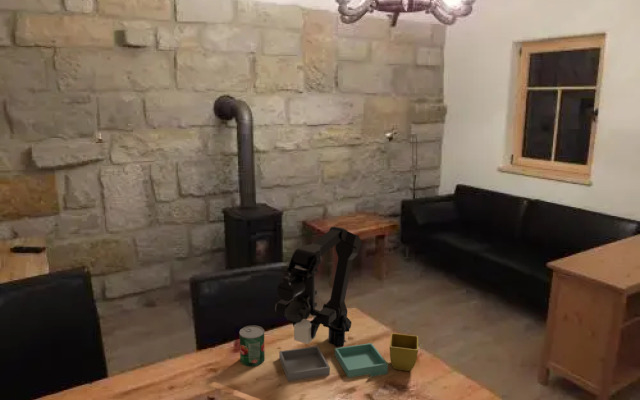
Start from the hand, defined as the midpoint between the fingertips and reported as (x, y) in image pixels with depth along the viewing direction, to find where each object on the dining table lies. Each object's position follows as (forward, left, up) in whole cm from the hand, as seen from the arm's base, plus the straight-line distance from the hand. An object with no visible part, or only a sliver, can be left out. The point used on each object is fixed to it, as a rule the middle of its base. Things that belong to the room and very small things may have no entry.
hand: (305, 336), depth 146 cm
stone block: (0, 0, -1) cm, 1 cm away
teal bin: (+3, +18, -11) cm, 21 cm away
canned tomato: (-8, -15, -12) cm, 21 cm away
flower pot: (+7, +31, -12) cm, 33 cm away
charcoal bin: (0, 0, -11) cm, 11 cm away
